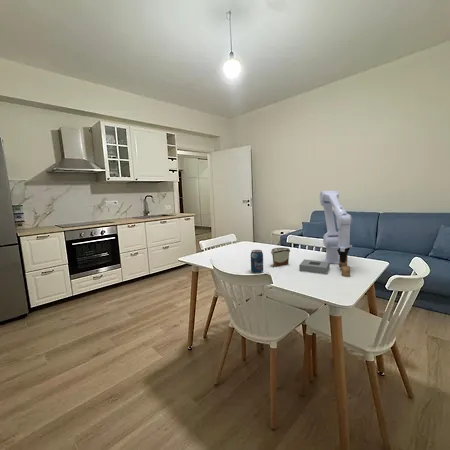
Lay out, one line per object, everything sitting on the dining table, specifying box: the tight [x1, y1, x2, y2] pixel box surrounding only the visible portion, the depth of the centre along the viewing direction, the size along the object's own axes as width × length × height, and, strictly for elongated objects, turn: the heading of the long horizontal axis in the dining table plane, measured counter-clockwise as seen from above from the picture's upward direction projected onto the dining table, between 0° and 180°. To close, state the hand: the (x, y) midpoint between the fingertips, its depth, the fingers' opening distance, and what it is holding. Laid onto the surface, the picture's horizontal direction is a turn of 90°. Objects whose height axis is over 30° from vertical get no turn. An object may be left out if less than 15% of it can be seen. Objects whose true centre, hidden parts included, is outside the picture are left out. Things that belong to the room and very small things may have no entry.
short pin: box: [340, 265, 351, 278], centre depth 126 cm, size 4×4×4 cm
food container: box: [270, 247, 291, 268], centre depth 149 cm, size 12×6×10 cm, turn 111°
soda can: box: [250, 249, 264, 274], centre depth 138 cm, size 7×7×12 cm
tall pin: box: [338, 253, 349, 269], centre depth 135 cm, size 4×4×8 cm
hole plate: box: [298, 259, 331, 275], centre depth 138 cm, size 12×14×4 cm
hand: (343, 261), depth 135 cm, fingers closed on tall pin, 4 cm apart
